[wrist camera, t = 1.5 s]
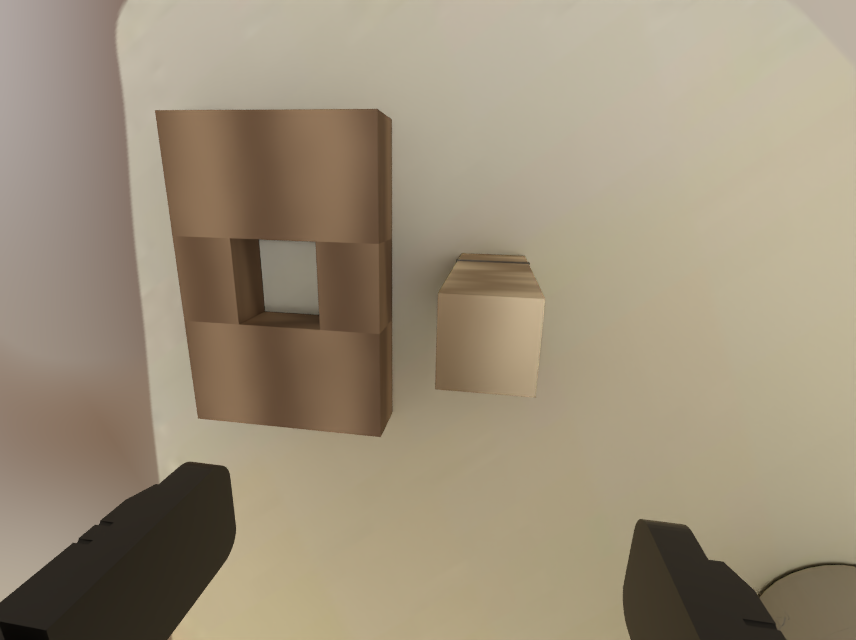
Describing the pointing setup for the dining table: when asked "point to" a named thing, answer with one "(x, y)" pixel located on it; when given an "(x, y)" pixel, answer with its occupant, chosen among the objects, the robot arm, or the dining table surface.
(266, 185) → the walnut board
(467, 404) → the dining table surface
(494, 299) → the beech peg
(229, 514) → the robot arm
